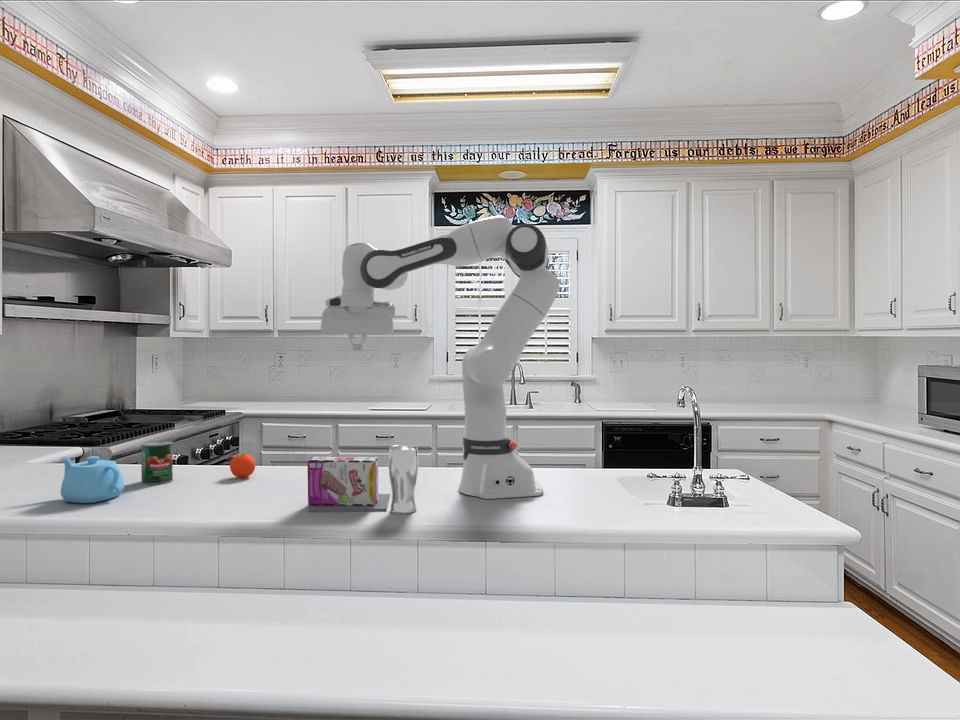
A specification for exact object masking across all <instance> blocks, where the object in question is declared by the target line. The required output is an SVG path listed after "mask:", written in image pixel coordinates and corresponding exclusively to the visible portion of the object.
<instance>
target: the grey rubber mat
mask: <svg viewBox="0 0 960 720" xmlns="http://www.w3.org/2000/svg"><path fill="white" fill-rule="evenodd" d="M390 497H391V493H380V494H379V493H378V501H377V503H376V505H375V506H347V505H343V506H336V505H310V507H309V509H308V512H309V513H326V512H327V513H331V512H333V513H334V512H335V513H337V512H339V513H340V512H382V511H383V512H386V511H387V510H388V505H389V501H390Z"/></svg>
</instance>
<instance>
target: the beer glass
mask: <svg viewBox="0 0 960 720" xmlns="http://www.w3.org/2000/svg"><path fill="white" fill-rule="evenodd" d="M388 451H389V453H388V475H389V476H388V477H389V482H390V483H389V484H390V487H391V505H390V512H391V513H393V514H397V515H405V514H406V515H407V514H413V513H415V512H416V511H417V504H416V497H415V495H416V494H415V493H416V488H417V487H416V486H417V482H418V481H417V480H418V474H419V454H418V453H419V452H418V446H416V445H407V444H403V445H402V444H400V445H399V444H398V445H392V446H390V447H389V450H388Z"/></svg>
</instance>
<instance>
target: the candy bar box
mask: <svg viewBox="0 0 960 720" xmlns="http://www.w3.org/2000/svg"><path fill="white" fill-rule="evenodd" d="M378 494H379V457H378V456H312V457H310V458H309V459H308V460H307V505H308V506H312V505H336V506H343V505H347V506H375V505H376V503H377V501H378Z"/></svg>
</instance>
